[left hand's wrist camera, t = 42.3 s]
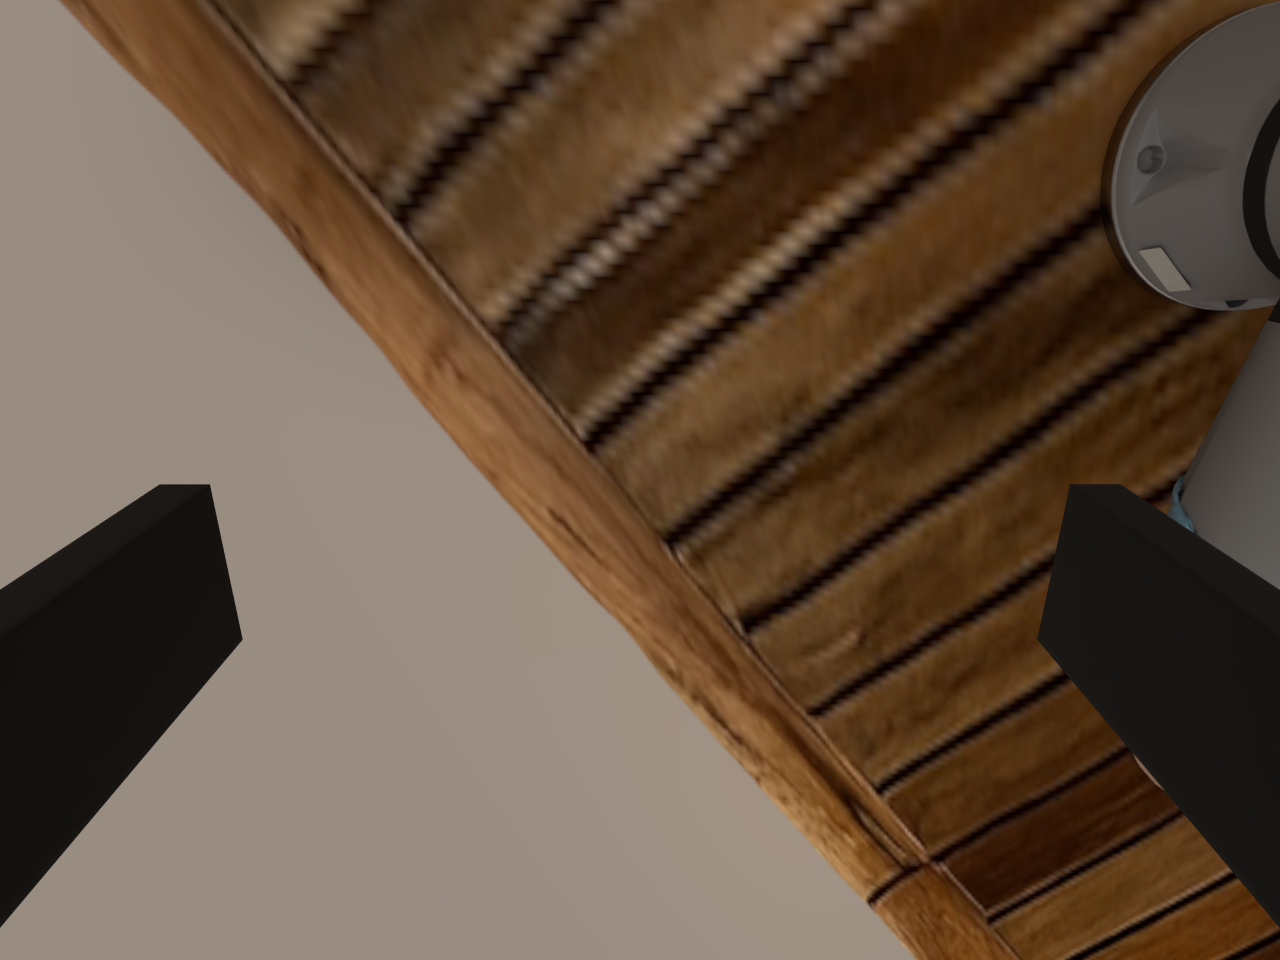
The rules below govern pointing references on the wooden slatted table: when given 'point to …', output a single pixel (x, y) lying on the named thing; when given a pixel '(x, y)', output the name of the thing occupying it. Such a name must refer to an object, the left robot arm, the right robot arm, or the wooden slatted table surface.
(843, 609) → the wooden slatted table surface
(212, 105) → the wooden slatted table surface
